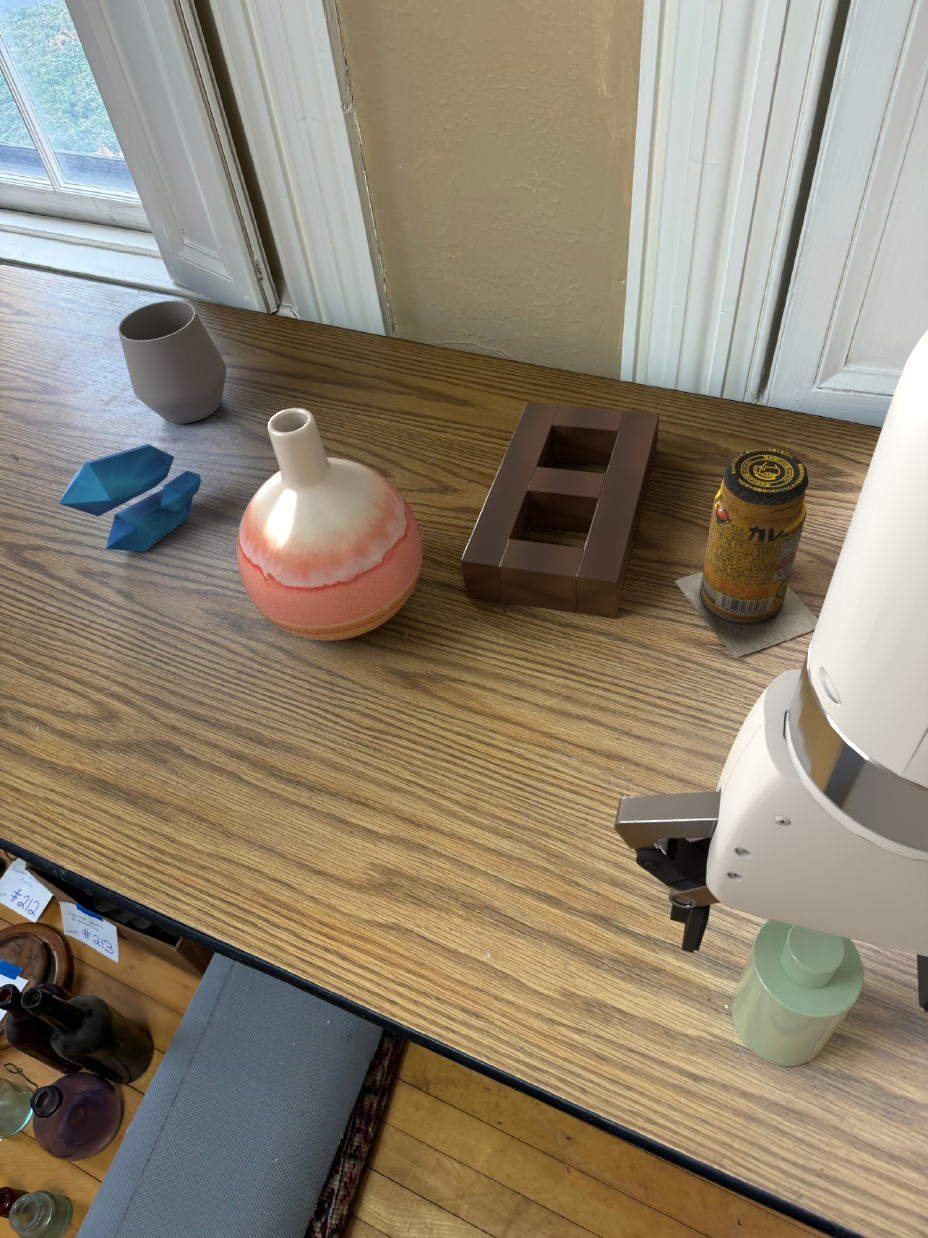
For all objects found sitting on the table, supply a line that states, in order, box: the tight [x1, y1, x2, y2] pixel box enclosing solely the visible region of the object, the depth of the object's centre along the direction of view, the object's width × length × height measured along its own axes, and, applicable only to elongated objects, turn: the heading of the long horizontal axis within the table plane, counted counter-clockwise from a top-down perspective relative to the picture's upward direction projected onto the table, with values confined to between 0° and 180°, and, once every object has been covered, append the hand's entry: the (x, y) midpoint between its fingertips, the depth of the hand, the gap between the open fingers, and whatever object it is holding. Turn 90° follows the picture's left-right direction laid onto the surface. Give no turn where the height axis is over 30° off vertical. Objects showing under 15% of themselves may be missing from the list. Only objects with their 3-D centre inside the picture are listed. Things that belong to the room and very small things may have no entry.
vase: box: [235, 407, 424, 642], centre depth 61 cm, size 14×14×18 cm
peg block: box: [460, 401, 660, 619], centre depth 70 cm, size 12×21×4 cm, turn 163°
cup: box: [117, 300, 227, 424], centre depth 86 cm, size 10×9×10 cm
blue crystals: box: [58, 443, 202, 553], centre depth 74 cm, size 7×9×12 cm
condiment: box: [674, 447, 819, 659], centre depth 59 cm, size 7×8×12 cm
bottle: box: [730, 919, 865, 1067], centre depth 41 cm, size 5×5×10 cm
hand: (805, 947), depth 37 cm, fingers open, 9 cm apart
